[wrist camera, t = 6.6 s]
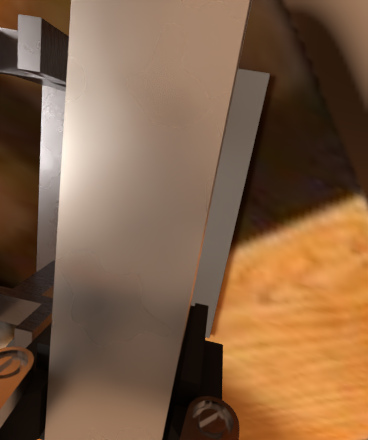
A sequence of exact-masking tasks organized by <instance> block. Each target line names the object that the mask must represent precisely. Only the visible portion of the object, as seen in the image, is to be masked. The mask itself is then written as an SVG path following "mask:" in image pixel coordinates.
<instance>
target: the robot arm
mask: <svg viewBox="0 0 368 440" xmlns="http://www.w3.org/2000/svg"><path fill="white" fill-rule="evenodd" d="M208 308H209V306H208V305H203V304H199V303H195V306H191V305H190V310H189V315H188V320H187V325H186V330H185V334H184V339H183V343H182V348H181V352H180V357H179V361H178V366H177V370H176V375H175V379H174V384H173V389H172V394H171V399H170V404H169V409H168V414H167V419H166V424H165V429H164V434H163V439H162V440H239V421H238V418H237V416H236V413H235V412H234V410H233V409H232V408H231V407H230V406H229V405H228V404H227V403H226V402H224V401H223V400H222V365H223V345H222V344H218V343H214V342H210V341H206V340H205V335H206V326H207V317H208ZM51 326H52V322H51V323H50V324H49V325H48V326H47V327H46V328H45V329H44V330H43V331H42V332H41V333H40V334H39V335H38V336H37V337H36V338H35V339H34V340H33V341H32V342H31V343H30V344H29V345H28V346H27V347H26V348H23V347H14V346H13V347H5V348H2V349H0V440H37V439H42V440H45V424H46V408H47V391H48V375H49V358H50V342H51Z"/></svg>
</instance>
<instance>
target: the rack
mask: <svg viewBox="0 0 368 440" xmlns="http://www.w3.org/2000/svg"><path fill="white" fill-rule="evenodd" d="M68 46H69V36H67V35H66V34H64V33H63V32H61V31H60V30H58V29H57V28H55V27H54V26H53V25H51V24H50V23H48V22H47V21H45V20H44V19H42V18H39V17H32V16H25V15H19V14H18V31H17V30H11V29H5V28H0V74H6V75H12V76H16V77H20V78H23V79H26V80H29V81H32V82H35V83H38V84H41V85H43V89H42V119H41V150H40V180H39V211H38V241H37V271H36V273H35V274H33V275H32V276H30V277H29V278H27V279H26V280H25V281H23V282H22V283H20V284H19V285H17V286H16V287H15V288H13V289H12V288H8V287H3V286H0V321H2V322H6V323H11V324H15V325H18V326H17V327H16V328H15V347H23V348H26V347H27V346H28V345H29V344H30V343H31V342H32V341H33V340H34V339H35V338H36V337H37V336H38V335H39V334H40V333H41V332H42V331H43V330H44V329H45V328H46V327H47V326H48V325H49V324H50V323H51V322H52V309H53V293H54V276H55V260H56V243H57V227H58V211H59V194H60V178H61V161H62V145H63V128H64V112H65V96H66V79H67V63H68Z"/></svg>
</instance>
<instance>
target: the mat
mask: <svg viewBox="0 0 368 440" xmlns="http://www.w3.org/2000/svg"><path fill="white" fill-rule="evenodd" d="M269 76H270V74H269V73H262V72H256V71H250V70H243V69H238V72H237V77H236V82H235V87H234V92H233V97H232V102H231V107H230V112H229V117H228V122H227V127H226V132H225V137H224V142H223V146H222V151H221V156H220V161H219V166H218V171H217V176H216V181H215V186H214V191H213V196H212V201H211V206H210V211H209V216H208V221H207V226H206V231H205V236H204V241H203V246H202V251H201V256H200V261H199V266H198V271H197V276H196V281H195V285H194V290H193V295H192V300H191V306H195V303H199V304H203V305H208V306H209V308H208V317H207V326H206V335H205V337H208V338H209V337H210V333H211V328H212V324H213V320H214V315H215V311H216V306H217V302H218V298H219V293H220V289H221V285H222V280H223V276H224V272H225V267H226V263H227V259H228V254H229V250H230V246H231V241H232V237H233V233H234V228H235V224H236V219H237V215H238V211H239V206H240V202H241V198H242V193H243V189H244V185H245V180H246V176H247V172H248V167H249V163H250V159H251V154H252V150H253V145H254V141H255V137H256V132H257V128H258V124H259V119H260V115H261V111H262V106H263V102H264V98H265V93H266V89H267V85H268V80H269Z"/></svg>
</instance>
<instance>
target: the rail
mask: <svg viewBox="0 0 368 440" xmlns="http://www.w3.org/2000/svg"><path fill="white" fill-rule="evenodd" d="M251 2H252V0H71V14H70V30H69V46H68V63H67V79H66V96H65V112H64V128H63V145H62V161H61V178H60V194H59V211H58V227H57V243H56V260H55V276H54V293H53V309H52V326H51V342H50V358H49V375H48V391H47V408H46V424H45V440H162V439H163V434H164V429H165V424H166V419H167V414H168V409H169V404H170V399H171V394H172V389H173V384H174V379H175V375H176V370H177V366H178V361H179V357H180V352H181V348H182V343H183V339H184V334H185V330H186V325H187V320H188V315H189V310H190V305H191V300H192V295H193V290H194V285H195V281H196V276H197V271H198V266H199V261H200V256H201V251H202V246H203V241H204V236H205V231H206V226H207V221H208V216H209V211H210V206H211V201H212V196H213V191H214V186H215V181H216V176H217V171H218V166H219V161H220V156H221V151H222V146H223V142H224V137H225V132H226V127H227V122H228V117H229V112H230V107H231V102H232V97H233V92H234V87H235V82H236V77H237V72H238V67H239V62H240V57H241V52H242V47H243V42H244V37H245V32H246V27H247V22H248V17H249V12H250V7H251Z"/></svg>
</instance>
